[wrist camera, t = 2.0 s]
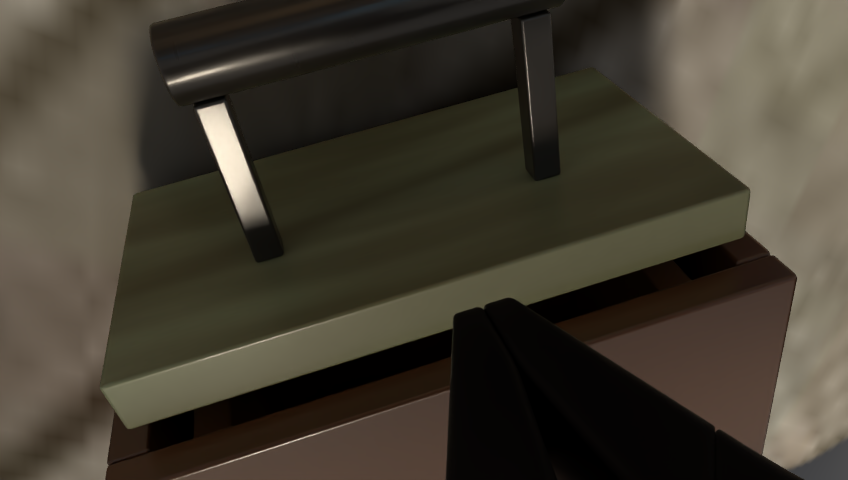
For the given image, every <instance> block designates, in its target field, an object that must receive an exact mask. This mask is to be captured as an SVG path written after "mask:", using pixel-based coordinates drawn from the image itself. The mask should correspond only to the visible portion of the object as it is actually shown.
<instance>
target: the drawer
mask: <svg viewBox="0 0 848 480" xmlns="http://www.w3.org/2000/svg"><path fill="white" fill-rule="evenodd" d="M564 1H565V0H244V1H240V2H236V3H232V4H228V5H224V6H220V7H216V8H212V9H208V10H204V11H200V12H196V13H192V14H188V15H184V16H180V17H176V18H172V19H168V20H164V21H160V22H156V23H153V24H151V25H150V28H149V33H150V41H151V45H152V49H153V53H154V56H155V59H156V62H157V65H158V68H159V71H160V74H161V76H162V79H163V81H164V83H165V85H166V88H167V90H168V92H169V93H170V95H171V97H172V99H173V100H174V101H175V103H176V104H177V105H178V106H186V105H190V104H193V103H194V108H193V110H194V112H195V115H196V117H197V120H198V122H199V125H200V127H201V129H202V132H203V134H204V137H205V139H206V142H207V144H208V147H209V149H210V152H211V154H212V156H213V159H214V161H215V164H216V166H217V169H218V171H215V172H212V173H208V174H205V175H201V176H197V177H194V178H190V179H187V180H183V181H179V182H176V183H172V184H169V185H165V186H161V187H158V188H154V189H151V190H147V191H143V192H140V193H136V194H134V195H133V201H132V206H131V212H130V218H129V223H128V229H127V235H126V240H125V246H124V252H123V257H122V263H121V269H120V274H119V280H118V286H117V291H116V297H115V303H114V308H113V314H112V320H111V325H110V331H109V337H108V342H107V348H106V354H105V359H104V365H103V371H102V376H101V382H100V389H101V391H102V393H103V394H104V396H105V397H106V399H107V400H108V401H109V403H110V404H111V406H112V407H113V409H114V410H115V412H116V413H117V415H118V416H119V418H120V419H121V421H122V422H123V424H124V425H125V427H126V428H127V429H133V428H136V427H139V426H143V425H146V424H149V423H152V422H155V421H159V420H162V419H165V418H168V417H171V416H175V415H178V414H181V413H184V412H187V411H191V410H194V437H193V438H196V437H199V436H202V435H205V434H209V433H212V432H215V431H218V430H221V429H224V428H227V427H231V426H234V425H237V424H240V423H243V422H246V421H250V420H253V419H256V418H259V417H262V416H265V415H268V414H272V413H275V412H278V411H281V410H284V409H287V408H290V407H294V406H297V405H300V404H303V403H306V402H309V401H313V400H316V399H319V398H322V397H325V396H328V395H331V394H335V393H338V392H341V391H344V390H347V389H350V388H354V387H357V386H360V385H363V384H366V383H369V382H372V381H376V380H379V379H382V378H385V377H388V376H391V375H394V374H398V373H401V372H404V371H407V370H410V369H413V368H417V367H420V366H423V365H426V364H429V363H432V362H435V361H439V360H442V359H445V358H448V357H451V352H452V330H453V317H454V315H455V314H456V313H459V312H462V311H465V310H469V309H472V308H475V307H481V308H482V309H483V308H484V306H485V305H486V304H488V303H491V302H494V301H498V300H501V299H504V298H514V299H515V300H517V301H519V302H520V303H522V304H523V305H525V306H526V307H528V308H530V309H531V310H533V311H534V312H536V313H537V314H539V315H541V316H542V317H544V318H545V319H547V320H549V321H550V322H552V323H553V324H555V323H558V322H561V321H565V320H568V319H571V318H574V317H577V316H580V315H584V314H587V313H590V312H593V311H596V310H599V309H602V308H606V307H609V306H612V305H615V304H618V303H621V302H625V301H628V300H631V299H634V298H637V297H640V296H643V295H647V294H650V293H653V292H656V291H659V290H662V289H665V288H669V287H672V286H675V285H678V284H681V283H684V282H688V281H691V279H690V278H689V277H688V276H687V274H686V273H685V272H684V271H683V270H682V269H681V268H680V267H679V266H678V265H677V264H676V263H675V262H674V261H673V259H676V258H680V257H683V256H686V255H689V254H692V253H696V252H699V251H702V250H705V249H708V248H711V247H715V246H718V245H721V244H724V243H727V242H731V241H734V240H737V239H740V238H742V237H744V235H745V229H746V221H747V214H748V206H749V198H750V189H749V188H748V187H747V186H746V185H745V184H743V183H742V182H741V181H739V180H738V179H737V178H735V177H734V176H733V175H732V174H730V173H729V172H728V171H726V170H725V169H724V168H723V167H721V166H720V165H719V164H717V163H716V162H715V161H714V160H712V159H711V158H710V157H708V156H707V155H706V154H704V153H703V152H702V151H701V150H699V149H698V148H697V147H695V146H694V145H693V144H692V143H690V142H689V141H688V140H686V139H685V138H684V137H683V136H681V135H680V134H679V133H677V132H676V131H675V130H673V129H672V128H671V127H670V126H668V125H667V124H666V123H664V122H663V121H662V120H661V119H659V118H658V117H657V116H655V115H654V114H653V113H651V112H650V111H649V110H648V109H646V108H645V107H644V106H642V105H641V104H640V103H639V102H637V101H636V100H635V99H633V98H632V97H631V96H630V95H628V94H627V93H626V92H624V91H623V90H622V89H620V88H619V87H618V86H617V85H615V84H614V83H613V82H611V81H610V80H609V79H608V78H606V77H605V76H604V75H602V74H601V73H600V72H599V71H597V70H596V69H595V68H593V67H590V68H587V69H583V70H580V71H576V72H572V73H569V74H565V75H561V76H558V77H555V73H554V57H553V41H552V25H551V13H550V12H549V11H548V10H547V9H551V8H554V7H558V6H560V5H561V4H562V3H563V2H564ZM509 19H511V25H512V35H513V45H514V56H515V66H516V76H517V86H518V88H515V89H511V90H507V91H504V92H500V93H497V94H493V95H489V96H486V97H482V98H479V99H475V100H471V101H468V102H464V103H461V104H457V105H453V106H450V107H446V108H443V109H439V110H435V111H432V112H428V113H425V114H421V115H417V116H414V117H410V118H406V119H403V120H399V121H396V122H392V123H388V124H385V125H381V126H378V127H374V128H370V129H367V130H363V131H360V132H356V133H352V134H349V135H345V136H342V137H338V138H334V139H331V140H327V141H324V142H320V143H316V144H313V145H309V146H306V147H302V148H298V149H295V150H291V151H288V152H284V153H280V154H277V155H273V156H269V157H266V158H262V159H259V160H255V161H253V160H252V157H251V154H250V151H249V149H248V146H247V143H246V141H245V138H244V135H243V132H242V130H241V127H240V124H239V122H238V119H237V116H236V113H235V111H234V108H233V105H232V103H231V100H230V97H229V95H228V94H231V93H235V92H239V91H242V90H246V89H250V88H254V87H257V86H261V85H265V84H269V83H272V82H276V81H280V80H284V79H287V78H291V77H295V76H299V75H302V74H306V73H310V72H314V71H318V70H321V69H325V68H329V67H333V66H336V65H340V64H344V63H348V62H351V61H355V60H359V59H363V58H366V57H370V56H374V55H378V54H381V53H385V52H389V51H393V50H396V49H400V48H404V47H408V46H411V45H415V44H419V43H423V42H427V41H430V40H434V39H438V38H442V37H445V36H449V35H453V34H457V33H460V32H464V31H468V30H472V29H475V28H479V27H483V26H487V25H490V24H494V23H498V22H502V21H505V20H509Z"/></svg>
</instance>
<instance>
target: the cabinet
mask: <svg viewBox="0 0 848 480" xmlns="http://www.w3.org/2000/svg"><path fill="white" fill-rule="evenodd" d="M673 261H674V262H675V263H676V264H677V265H678V266H679V267H680V268H681V269H682V270H683V271H684V272H685V273H686V274H687V276H688V277H689V278H690V279H691V281H688V282H684V283H681V284H678V285H675V286H672V287H669V288H665V289H662V290H659V291H656V292H653V293H650V294H647V295H643V296H640V297H637V298H634V299H631V300H628V301H625V302H621V303H618V304H615V305H612V306H609V307H606V308H602V309H599V310H596V311H593V312H590V313H587V314H584V315H580V316H577V317H574V318H571V319H568V320H565V321H561V322H558V323H555V325H556V326H558V327H560V328H561V329H563V330H564V331H566V332H567V333H569V334H571V335H572V336H574V337H575V338H577V339H578V340H580V341H582V342H583V343H585V344H586V345H588V346H589V347H591V348H593V349H594V350H596V351H597V352H599V353H601V354H602V355H604V356H605V357H607V358H608V359H610V360H612V361H613V362H615V363H616V364H618V365H619V366H621V367H623V368H624V369H626V370H627V371H629V372H630V373H632V374H634V375H635V376H637V377H638V378H640V379H641V380H643V381H645V382H646V383H648V384H649V385H651V386H653V387H654V388H656V389H657V390H659V391H660V392H662V393H664V394H665V395H667V396H668V397H670V398H671V399H673V400H675V401H676V402H678V403H679V404H681V405H682V406H684V407H686V408H687V409H689V410H690V411H692V412H693V413H695V414H697V415H698V416H700V417H701V418H703V419H704V420H706V421H708V422H709V423H711V424H712V425H714V426H715V432H716V430H719V429H720V430H722V431H724V432H725V433H727V434H729V435H730V436H732V437H733V438H735V439H736V440H738V441H740V442H741V443H743V444H744V445H746V446H747V447H749V448H751V449H752V450H754V451H756V452H757V453H759V454H761V455H762V453H763V448H764V443H765V438H766V433H767V428H768V423H769V418H770V412H771V407H772V402H773V397H774V392H775V387H776V382H777V377H778V372H779V367H780V362H781V357H782V352H783V347H784V342H785V337H786V332H787V326H788V321H789V316H790V311H791V306H792V301H793V296H794V291H795V286H796V281H797V277H796V275H795V273H794V272H792V271H791V270H790V269H789V268H788V267H787V266H785V265H784V264H783V263H782V262H781V261H780V260H778V259H777V258H776V257H775V256H771V255H770V253H769V251H768V250H767V249H766V248H765V247H763V246H762V245H761V244H760V243H759V242H758V241H756V240H755V239H754V238H753V237H752V236H751V235H749V234H748V233H747V232H746V231H745V235H744V237H742V238H740V239H737V240H734V241H731V242H727V243H724V244H721V245H718V246H715V247H711V248H708V249H705V250H702V251H699V252H696V253H692V254H689V255H686V256H683V257H680V258H676V259H673ZM450 374H451V357H448V358H445V359H442V360H439V361H435V362H432V363H429V364H426V365H423V366H420V367H417V368H413V369H410V370H407V371H404V372H401V373H398V374H394V375H391V376H388V377H385V378H382V379H379V380H376V381H372V382H369V383H366V384H363V385H360V386H357V387H354V388H350V389H347V390H344V391H341V392H338V393H335V394H331V395H328V396H325V397H322V398H319V399H316V400H313V401H309V402H306V403H303V404H300V405H297V406H294V407H290V408H287V409H284V410H281V411H278V412H275V413H272V414H268V415H265V416H262V417H259V418H256V419H253V420H250V421H246V422H243V423H240V424H237V425H234V426H231V427H227V428H224V429H221V430H218V431H215V432H212V433H209V434H205V435H202V436H199V437H196V438H193V437H194V410H191V411H187V412H184V413H181V414H178V415H175V416H171V417H168V418H165V419H162V420H159V421H155V422H152V423H149V424H146V425H143V426H139V427H136V428H133V429H127V428H126V427H125V425H124V424H123V422H122V421H121V419H120V418H119V416H118V415H117V413H116V412H114V419H113V426H112V433H111V439H110V446H109V453H108V460H107V463H108V465H109V466H108V468H107V472H106V479H105V480H446V461H447V439H448V417H449V395H450Z"/></svg>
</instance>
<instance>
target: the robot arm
mask: <svg viewBox="0 0 848 480" xmlns="http://www.w3.org/2000/svg"><path fill="white" fill-rule="evenodd" d="M446 480H804V479H802V478H800V477H798V476H797V475H795V474H793V473H791V472H789V471H787V470H786V469H784V468H782V467H781V466H779V465H777V464H776V463H774V462H772V461H771V460H769V459H767V458H766V457H764V456H762V455H761V454H759V453H757V452H756V451H754V450H752V449H751V448H749V447H747V446H746V445H744V444H743V443H741V442H740V441H738V440H736V439H735V438H733V437H732V436H730V435H729V434H727V433H725V432H724V431H722V430H720V429H719V430H716V432H715V426H714V425H712V424H711V423H709V422H708V421H706V420H704V419H703V418H701V417H700V416H698V415H697V414H695V413H693V412H692V411H690V410H689V409H687V408H686V407H684V406H682V405H681V404H679V403H678V402H676V401H675V400H673V399H671V398H670V397H668V396H667V395H665V394H664V393H662V392H660V391H659V390H657V389H656V388H654V387H653V386H651V385H649V384H648V383H646V382H645V381H643V380H641V379H640V378H638V377H637V376H635V375H634V374H632V373H630V372H629V371H627V370H626V369H624V368H623V367H621V366H619V365H618V364H616V363H615V362H613V361H612V360H610V359H608V358H607V357H605V356H604V355H602V354H601V353H599V352H597V351H596V350H594V349H593V348H591V347H589V346H588V345H586V344H585V343H583V342H582V341H580V340H578V339H577V338H575V337H574V336H572V335H571V334H569V333H567V332H566V331H564V330H563V329H561V328H560V327H558V326H556V325H555V324H553V323H552V322H550V321H549V320H547V319H545V318H544V317H542V316H541V315H539V314H537V313H536V312H534V311H533V310H531V309H530V308H528V307H526V306H525V305H523V304H522V303H520V302H519V301H517V300H515V299H514V298H504V299H501V300H498V301H494V302H491V303H488V304H486V305H485V306H484V308H483V309H482V308H481V307H475V308H472V309H469V310H465V311H462V312H459V313H456V314H455V315H454V317H453V330H452V352H451V374H450V395H449V417H448V439H447V461H446Z"/></svg>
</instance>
